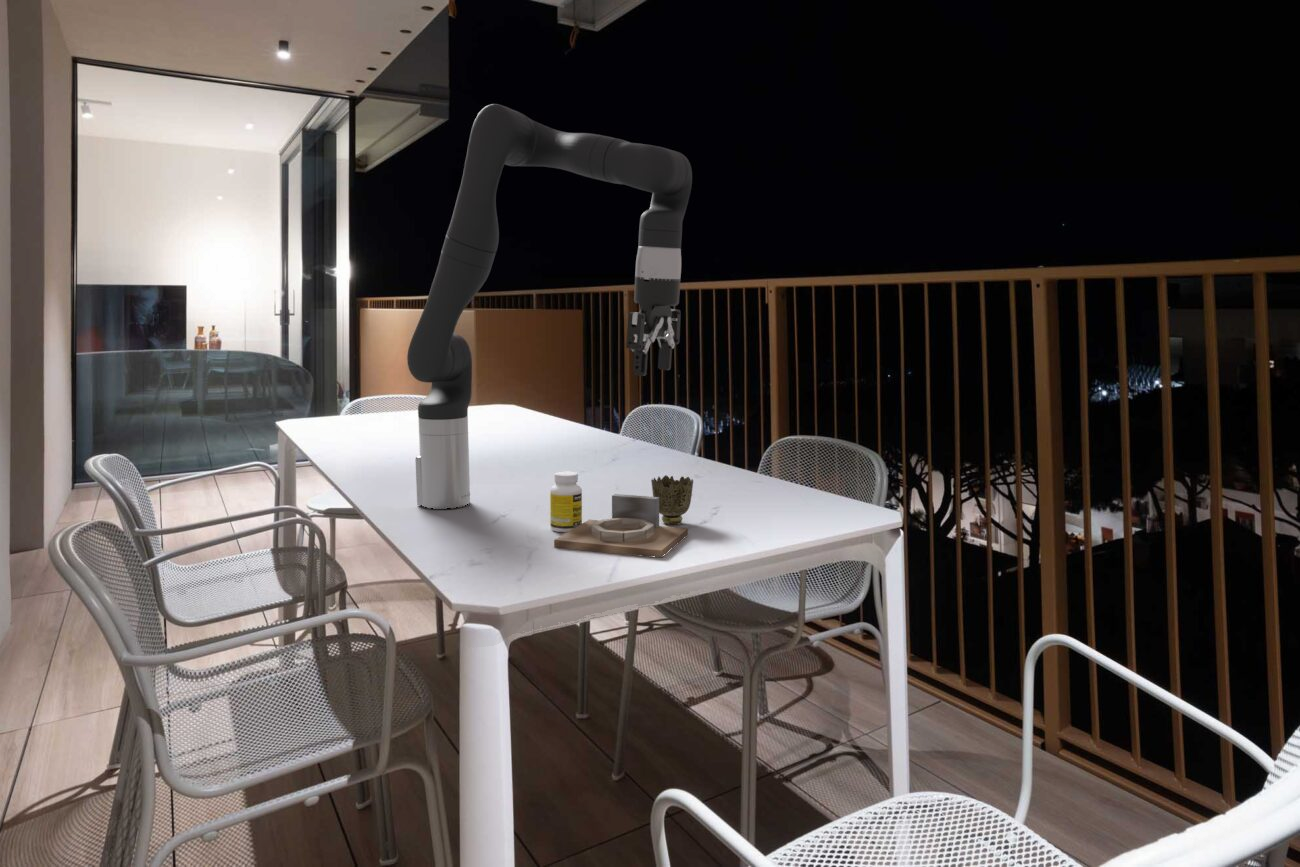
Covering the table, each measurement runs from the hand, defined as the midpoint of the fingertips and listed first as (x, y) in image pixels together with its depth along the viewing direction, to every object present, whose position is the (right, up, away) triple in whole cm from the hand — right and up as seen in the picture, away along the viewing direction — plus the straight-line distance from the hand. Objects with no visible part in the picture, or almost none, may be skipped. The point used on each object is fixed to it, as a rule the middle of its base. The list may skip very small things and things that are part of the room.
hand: (652, 372), depth 139 cm
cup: (+4, -27, +6) cm, 28 cm away
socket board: (-5, -28, -5) cm, 29 cm away
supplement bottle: (-15, -27, +2) cm, 31 cm away
